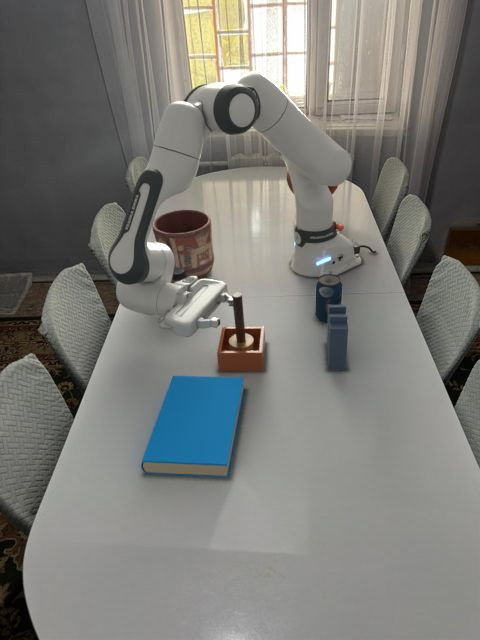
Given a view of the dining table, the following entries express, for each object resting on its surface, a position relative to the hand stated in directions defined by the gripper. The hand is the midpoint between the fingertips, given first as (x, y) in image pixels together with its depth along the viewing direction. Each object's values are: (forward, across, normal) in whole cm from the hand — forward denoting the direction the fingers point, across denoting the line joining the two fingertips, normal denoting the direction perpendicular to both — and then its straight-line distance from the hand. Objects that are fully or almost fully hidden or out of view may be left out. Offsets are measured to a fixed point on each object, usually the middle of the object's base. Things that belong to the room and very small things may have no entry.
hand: (227, 312), depth 120 cm
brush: (+8, 0, +10) cm, 13 cm away
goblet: (-8, +87, +13) cm, 88 cm away
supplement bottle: (-24, +16, +13) cm, 32 cm away
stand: (+24, +8, +13) cm, 29 cm away
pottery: (-31, +33, +13) cm, 47 cm away
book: (+4, -25, +13) cm, 29 cm away
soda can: (+18, +24, +13) cm, 32 cm away
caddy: (+3, 0, +13) cm, 13 cm away
